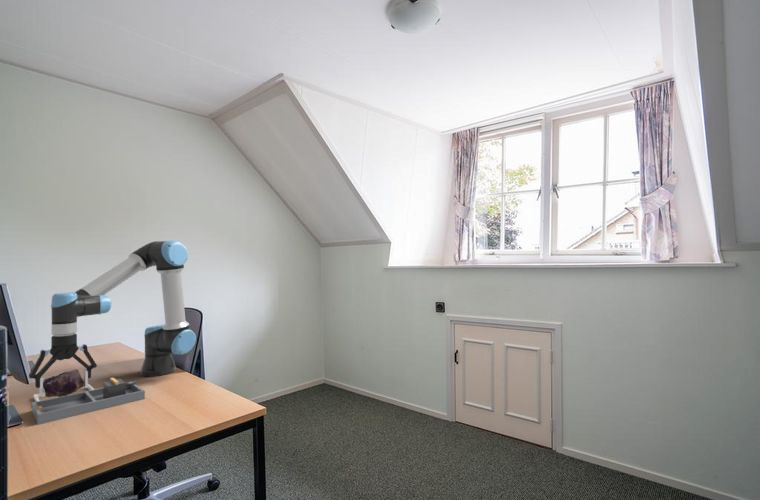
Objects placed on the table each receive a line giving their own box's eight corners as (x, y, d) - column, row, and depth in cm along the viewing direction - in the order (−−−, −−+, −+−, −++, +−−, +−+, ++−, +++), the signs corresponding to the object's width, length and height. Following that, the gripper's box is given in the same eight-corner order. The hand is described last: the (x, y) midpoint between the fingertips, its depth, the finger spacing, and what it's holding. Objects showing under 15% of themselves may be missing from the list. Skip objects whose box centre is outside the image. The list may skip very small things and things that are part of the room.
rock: (46, 397, 152) (45, 404, 144) (42, 375, 151) (40, 381, 143) (85, 386, 159) (85, 392, 150) (80, 365, 158) (80, 370, 150)
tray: (88, 387, 178) (88, 383, 178) (97, 396, 166) (97, 392, 166) (33, 398, 165) (33, 394, 165) (39, 408, 153) (39, 404, 153)
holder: (132, 389, 174) (132, 371, 175) (144, 398, 163) (144, 379, 163) (31, 411, 151) (31, 390, 151) (37, 424, 139) (37, 401, 139)
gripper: (101, 328, 163) (101, 381, 162) (19, 338, 145) (18, 397, 145) (105, 330, 157) (105, 385, 157) (21, 340, 140) (21, 402, 139)
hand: (64, 391), depth 151 cm, fingers closed on rock, 13 cm apart
